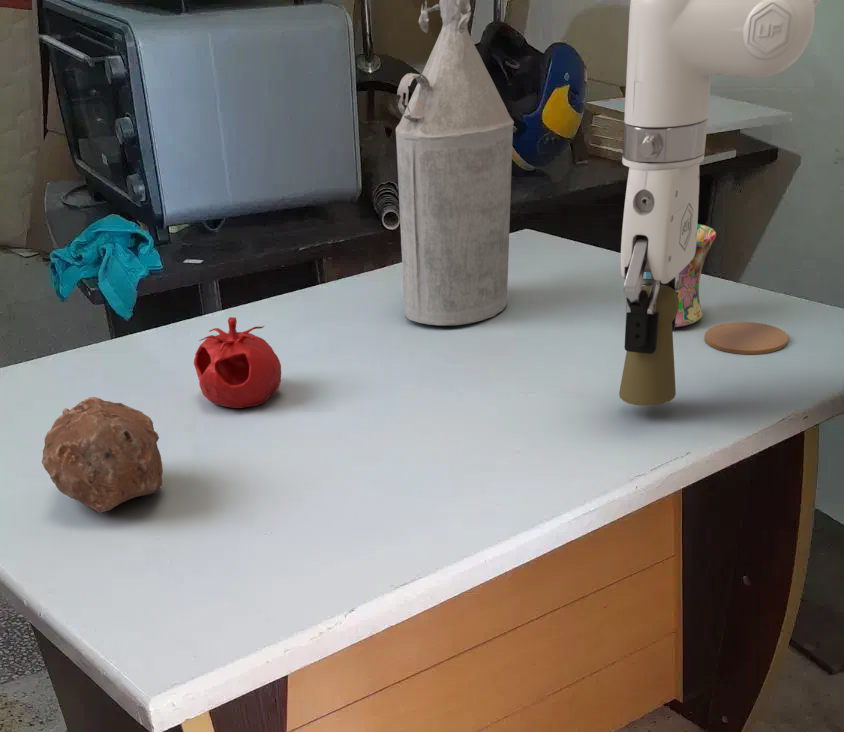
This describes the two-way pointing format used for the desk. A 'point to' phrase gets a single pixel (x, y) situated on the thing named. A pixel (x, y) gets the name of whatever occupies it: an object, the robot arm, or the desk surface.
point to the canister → (454, 181)
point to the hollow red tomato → (237, 368)
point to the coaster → (746, 338)
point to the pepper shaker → (653, 359)
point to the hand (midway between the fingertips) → (649, 339)
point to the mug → (692, 279)
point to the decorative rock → (103, 454)
